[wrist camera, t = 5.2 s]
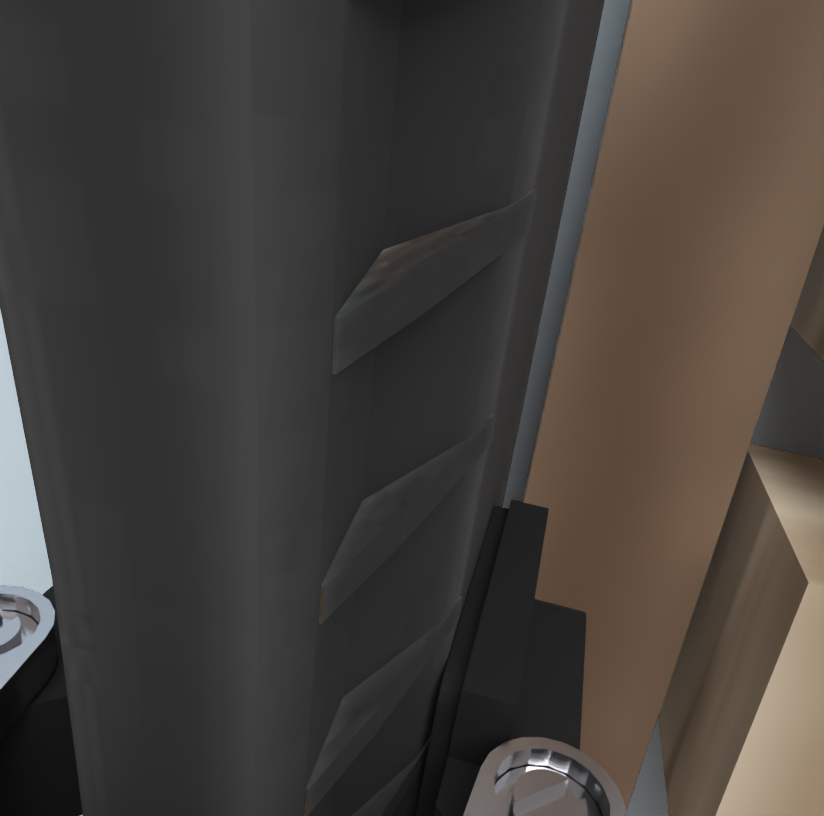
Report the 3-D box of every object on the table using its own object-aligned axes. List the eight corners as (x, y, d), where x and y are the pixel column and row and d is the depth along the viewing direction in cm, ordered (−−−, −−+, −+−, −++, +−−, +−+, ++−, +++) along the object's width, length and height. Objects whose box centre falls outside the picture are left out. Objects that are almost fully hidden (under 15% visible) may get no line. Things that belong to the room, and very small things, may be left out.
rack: (1535, -473, 11) (1851, -670, 8) (800, 963, 23) (827, 1077, 20) (359, -502, 14) (300, -658, 11) (256, 799, 26) (216, 880, 23)
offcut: (925, 479, 17) (1076, 643, 12) (808, 741, 20) (886, 969, 15) (744, 441, 18) (808, 583, 13) (656, 702, 21) (678, 906, 16)
